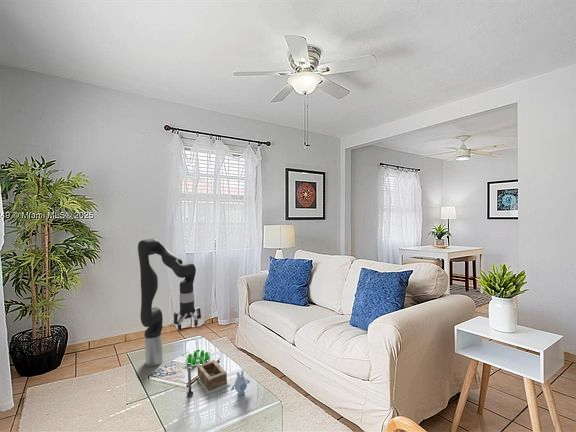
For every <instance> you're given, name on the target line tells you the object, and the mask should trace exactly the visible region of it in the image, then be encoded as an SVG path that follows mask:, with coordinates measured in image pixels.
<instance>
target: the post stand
mask: <svg viewBox="0 0 576 432" xmlns="http://www.w3.org/2000/svg"><path fill="white" fill-rule="evenodd" d="M186 370H187V371H186V372H187V383H188V385H187V386H188V387H187V389H188V391H187V392H186V396H187V397H188V398H191V397H193V396H194V391H192V372H191V371H192V368H191V367H187V369H186ZM192 395H193V396H192ZM190 396H191V397H190Z"/></svg>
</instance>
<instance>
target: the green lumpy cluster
mask: <svg viewBox="0 0 576 432" xmlns="http://www.w3.org/2000/svg"><path fill="white" fill-rule="evenodd" d="M198 353H199V355H198ZM210 357H211V353H210V352H209V351H206V352H205V350H204V349H201V350H200V349H196V350H194V351H193V354H191V353H188V354H187V355H186V359H185V362H186V363H187V364H188V363H191V362H192V363H191V366H192V365H195V364H196V365H197V361H199V362H198V363H200V364H204V361H207V360H208V361H209V360H211V358H210ZM204 358H205V359H204ZM191 360H192V361H191ZM203 360H204V361H203Z"/></svg>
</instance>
